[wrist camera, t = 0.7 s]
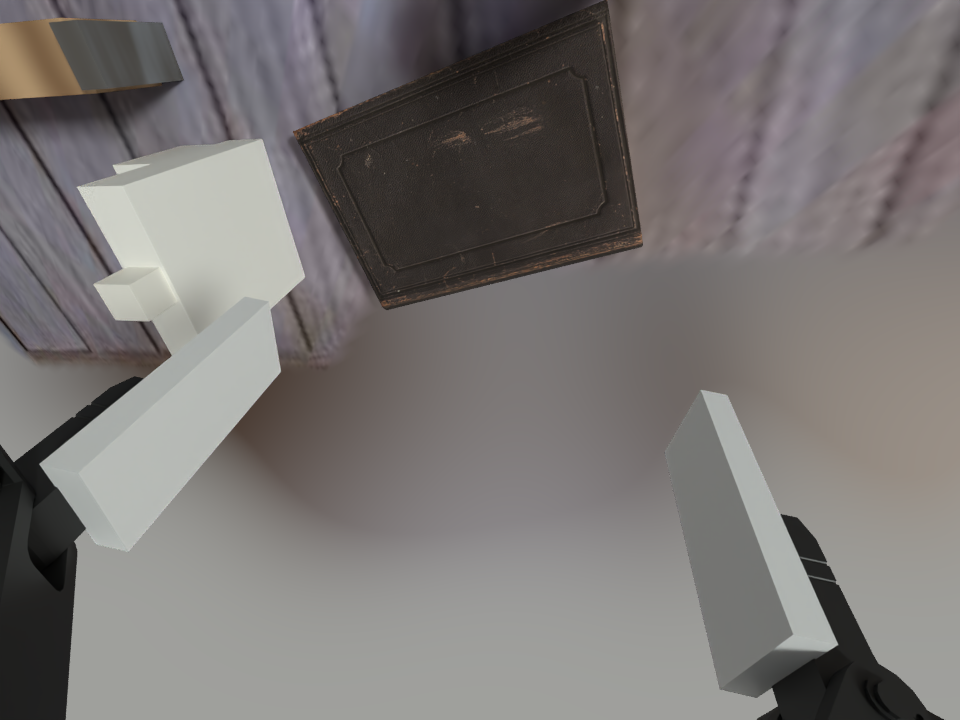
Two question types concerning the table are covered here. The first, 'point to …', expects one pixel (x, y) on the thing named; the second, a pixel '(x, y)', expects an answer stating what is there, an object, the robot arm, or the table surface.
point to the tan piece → (83, 57)
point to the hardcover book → (485, 166)
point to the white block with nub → (193, 236)
